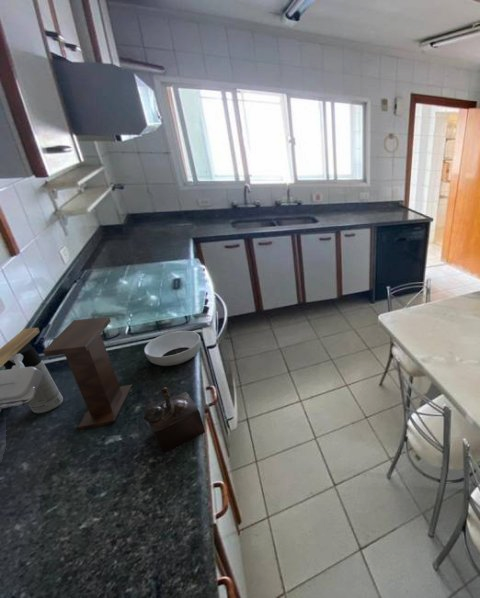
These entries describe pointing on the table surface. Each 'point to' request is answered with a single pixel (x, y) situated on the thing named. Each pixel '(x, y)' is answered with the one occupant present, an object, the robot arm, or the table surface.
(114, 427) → the table surface
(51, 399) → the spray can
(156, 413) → the dark brown boxy piece
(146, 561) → the table surface
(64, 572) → the table surface
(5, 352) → the wooden plank
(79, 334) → the walnut stand
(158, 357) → the cereal bowl
